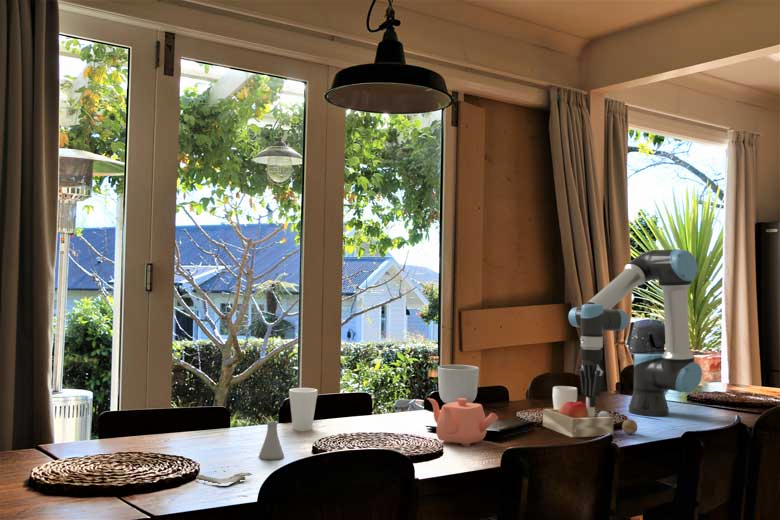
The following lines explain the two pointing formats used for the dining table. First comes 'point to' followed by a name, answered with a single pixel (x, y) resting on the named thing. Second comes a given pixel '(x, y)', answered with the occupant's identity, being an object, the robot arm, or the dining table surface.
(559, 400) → the cup
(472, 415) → the teapot
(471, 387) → the planter
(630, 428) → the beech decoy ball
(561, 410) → the apple
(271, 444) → the flask
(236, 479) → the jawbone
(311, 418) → the foam cup
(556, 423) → the beige shallow open box
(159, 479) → the dining table surface
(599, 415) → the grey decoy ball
